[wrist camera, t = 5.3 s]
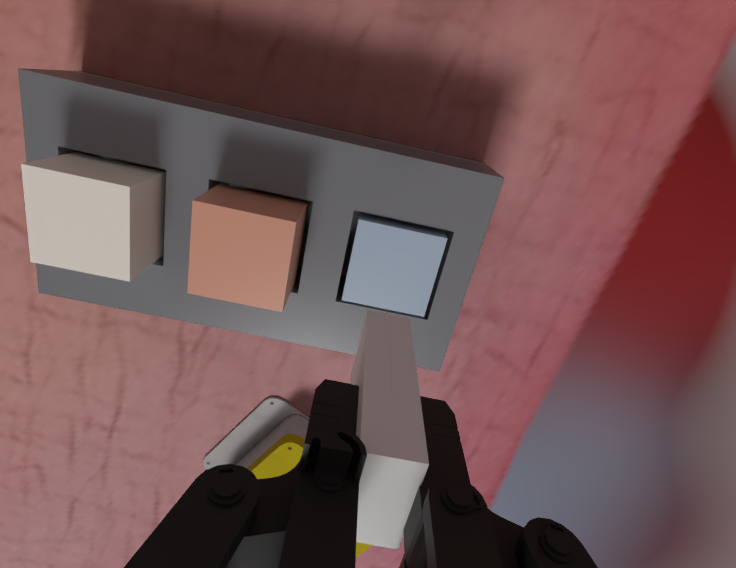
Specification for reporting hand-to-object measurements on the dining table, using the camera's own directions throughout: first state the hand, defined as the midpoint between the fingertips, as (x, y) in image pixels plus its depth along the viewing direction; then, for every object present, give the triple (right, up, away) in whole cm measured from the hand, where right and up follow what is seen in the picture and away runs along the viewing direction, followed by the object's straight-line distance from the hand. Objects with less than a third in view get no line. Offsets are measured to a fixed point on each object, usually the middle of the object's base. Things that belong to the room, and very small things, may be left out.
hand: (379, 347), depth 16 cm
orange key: (-6, +5, +7) cm, 11 cm away
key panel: (-6, +6, +11) cm, 14 cm away
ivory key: (-13, +6, +7) cm, 16 cm away
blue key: (+1, +4, +10) cm, 11 cm away
